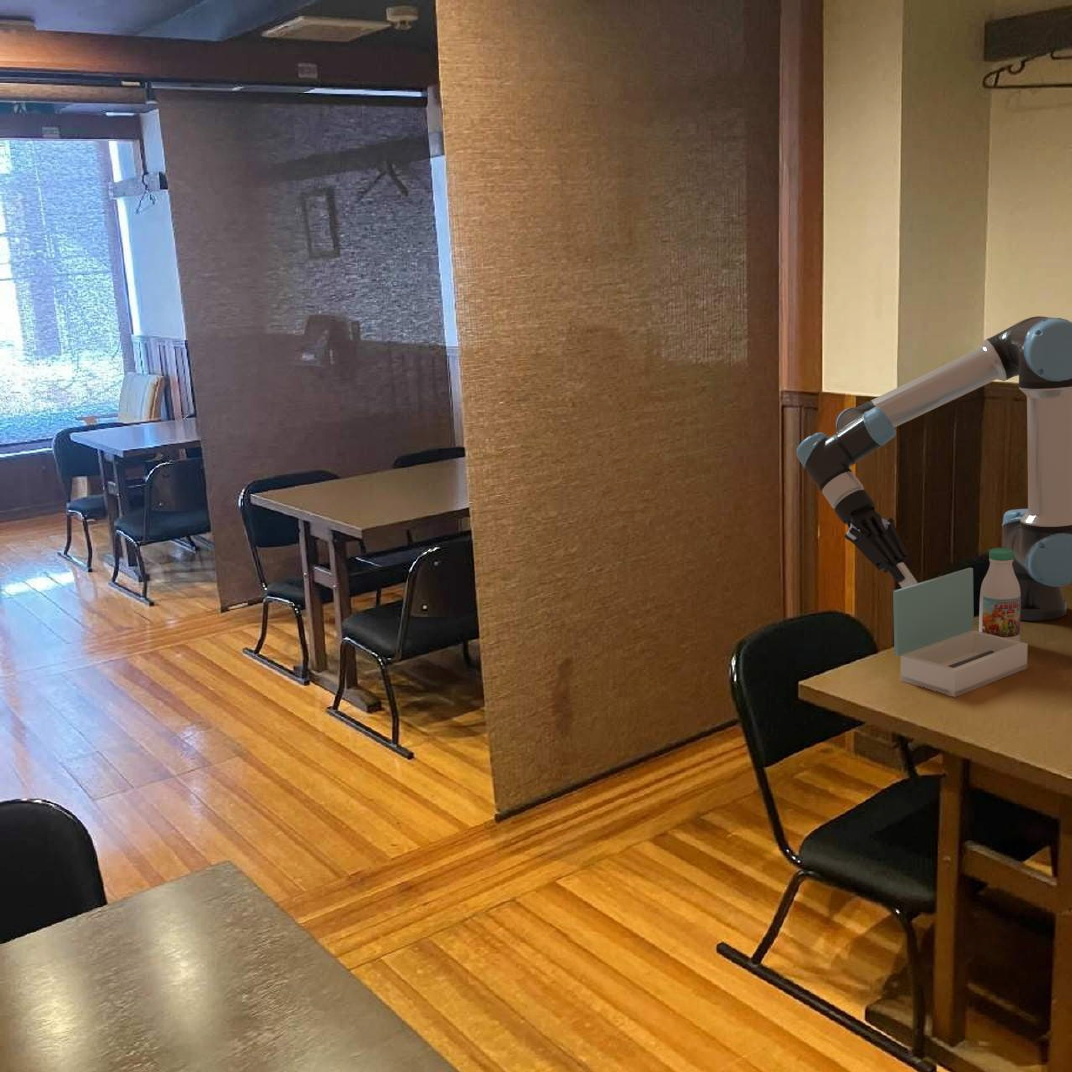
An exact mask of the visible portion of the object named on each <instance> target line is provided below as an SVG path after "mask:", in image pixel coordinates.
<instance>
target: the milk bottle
mask: <svg viewBox="0 0 1072 1072" xmlns="http://www.w3.org/2000/svg"><path fill="white" fill-rule="evenodd" d="M988 557H989V558H988V561H989V567H988V570H987V572H986V574H985V576H984V578H983V580H982V582H981V586H980V591H979V592H980V593H979V614H978V615H979V616H978V617H979V618H978V619H979V620H978V621H979V622H978V632H982V633H986V634H990V635H995V636H999V637H1003V638H1007V639H1011V640H1015V641H1019V642H1021V641H1020V640H1021V635H1020V634H1021V620H1020V608H1021V592H1020V586H1019V582H1018V580H1017V578H1016V576H1015V573H1014V570H1013V567H1012V562H1013V561H1014V560H1013V558H1014V552H1013V550H1011V549H1007V548H1002V547H995V548H994V547H993V548H991V549H989V551H988Z"/></svg>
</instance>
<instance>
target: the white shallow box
mask: <svg viewBox="0 0 1072 1072" xmlns="http://www.w3.org/2000/svg"><path fill="white" fill-rule="evenodd" d="M1026 669H1028V643H1026V642H1022V641H1015V640H1011V639H1007V638H1003V637H999V636H995V635H990V634H986V633H982V632H979V630H971V631H968V632H965V633H962V634H959V635H957V636H954V637H951V638H948V639H945V640H942V641H940V642H937V643H934V644H931V645H928V646H925V647H923V648H920V649H917V650H914V651H911V652H908V653H905V654H903V655H900V681H901V682H903V683H907V684H910V685H914V686H916V687H919V686H921V687H920V688H923V687H925V688H924V689H926V688H927V690H929V689H930V691H932V690H933V691H932V692H936V691H938V692H937V693H939V692H941V693H940V694H942V693H943V695H945V694H946V696H949V697H952V696H953V697H952V698H956V697H958V696H962V695H964V694H966V693H970V692H971V691H974V690H977V689H979V688H982V687H983V686H986V685H988V684H989V685H990V684H991V683H995V682H997V681H999V680H1001V679H1004V678H1006V677H1008V676H1012V675H1014V674H1016V673H1019V672H1021V671H1024V670H1026Z"/></svg>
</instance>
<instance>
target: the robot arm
mask: <svg viewBox="0 0 1072 1072" xmlns="http://www.w3.org/2000/svg"><path fill="white" fill-rule="evenodd" d="M1017 376H1018V389H1019V390H1020V391H1021V392H1022V393H1023V394H1025V396H1026V408H1027V409H1026V413H1027V415H1026V418H1027V421H1026V422H1027V423H1026V424H1027V425H1026V427H1027V430H1026V431H1027V435H1026V436H1027V508H1018V509H1010V510H1007V511H1006V512H1005V513H1004V514H1003V518H1002V520H1003V521H1002V524H1001V527H1002V543H1001V544H1002V545H1001V548H1007V549H1011V550H1013V552H1014V558H1013V560H1014V561H1013V562H1012V567H1013V570H1014V573H1015V576H1016V578H1017V580H1018V582H1019V586H1020V592H1021V608H1020V621H1029V622H1030V621H1031V622H1033V621H1038V622H1039V621H1051V620H1057V619H1060V618H1062V617H1065V615H1067V607H1068V606H1067V604H1068V603H1067V601H1066V599H1065V598H1064V593H1063V589H1062V587H1064V586H1068V585H1071V584H1072V321H1070V320H1067V319H1065V318H1062V317H1047V316H1042V315H1041V316H1039V315H1036V316H1031V317H1028V318H1025V319H1022V320H1021V321H1018V322H1017V323H1014V324H1013V325H1011V326H1010V327H1008V328H1006V329H1004V330H1002V331H999V332H998V333H996V334H994V335H993V336H991V337H989V338H987V339H985V340H983V341H982V345H980V347H979V348H977V349H975V350H972V351H970V352H969V353H967V354H964V355H962V356H960V357H958V358H956V359H954V360H952V361H950V362H948V363H945V364H944V365H942V366H939V367H937V368H935V369H933V370H931V371H929V372H927V373H925V374H922V375H921V376H919V377H917V378H915V379H913V380H910V381H908V382H907V383H905V384H903V385H900V386H898V387H896V388H894V389H892V390H890V391H888V392H886V393H883V394H881V395H880V396H877V397H876V398H875V397H874V399H872V400H870V401H868V402H865V403H863V404H861V405H859V406H857V407H856V406H853V407H848V408H846V409H844V410H842V411H841V412H840V413H839V415H838V416H837V418H836V421H835V428H836V433H834V434H832V435H829V436H828V435H827V434H826V433H824V432H822V431H821V432H815V433H813V434H812V435H809V436H808V437H806V438H805V439H803V440H802V441H801V442H800V444H798V446H797V448H796V457H797V460H799V462H800V463H801V465H802V467H803V468H804V470H805V471H806V473H807V474H808V476H810V479H811V480H812V481H813V483H814V485H816V487H817V488H818V490H819V491H820V492H821V494H822V495H823V496H824V497H825V499H826V500H827V502H828V504H829V505H830V506H831V508H832V509H834V513H835V514H836V515H837V517H838V518H839V520H840V521H841V523H842V524H843V525H847V528H848V531H847V532H846V533H845V534H844V538H845V539H846V540H848V541H849V542H850V543H852V544H853V545H854V546H855V547H856V548H857V549H858V550H859V551H860V552H861V553H862V554H863V555H864V557H865V558H867V559H868V561H870V562H871V564H872V565H873V566H875V568H876V569H877V570H878V571H882V572H883V573H884V574H888V573H889V574H890V575H891V576H892V578H893V579H894V581H895V582H896V583H897V584H898V585H900V587H901V588H905V587H908V586H911V585H914V584H918V583H919V582H918V581H917V579H916V578H915V577H914V574H913V572H912V571H911V569H910V568H909V566H908V565H907V564H906V561H907V560H908V558H909V557H910V555H909V552H908V551H907V549H906V547H905V545H904V542H903V541H902V538H901V536H900V534H899V532H898V531H897V528H896V524H895V520H894V518H892V517H889V518H888V519H885V518H882V515H881V514H880V513H879V512H877V511H876V509H875V505H876V504H875V501H874V500H873V499H872V496H871V495H870V493H868V491H867V490H866V489H864V485H863V484H862V483H861V481H860V480H859V479H858V477H857V476H856V474H855V473H854V472H853V471H852V469H851V467H852V466H853V465H855V464H857V463H858V462H859V461H862V459H864V458H865V457H867V456H869V455H871V454H872V453H874V452H875V451H876V450H879V448H881V447H883V446H886V444H887V443H888V442H889V441H891V440H892V439H894V438H895V437H896V434H897V430H896V427H898V426H901V425H903V424H905V423H907V422H909V421H911V420H913V419H915V418H918V417H920V416H922V415H924V414H926V413H929V412H931V411H932V410H935V409H937V408H939V407H941V406H943V405H946V404H947V403H950V402H952V401H954V400H956V399H959V398H960V397H962V396H965V395H966V394H969V393H971V392H973V391H975V390H977V389H979V388H981V387H984V386H986V385H988V384H990V383H991V382H994V381H997V380H998V381H1002V382H1006V381H1008V380H1010V379H1013V378H1014V377H1017Z"/></svg>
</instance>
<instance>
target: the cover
mask: <svg viewBox="0 0 1072 1072" xmlns="http://www.w3.org/2000/svg"><path fill="white" fill-rule="evenodd" d="M892 598H893V599H892V600H893V601H892V603H893V604H892V605H893V607H892V609H893V639H894V641H893V645H894V646H893V647H894V656H895V657H901V655H904V654H907V653H910V652H913V651H915V650H918V649H921V648H924V647H927V646H930V645H932V644H935V643H938V642H941V641H944V640H947V639H949V638H952V637H955V636H958V635H961V634H964V633H966V632H969V631H972V630H974V628H975V627H974V625H975V623H974V621H975V620H974V619H975V616H974V614H975V613H974V568H973V567H967V568H964V569H961V570H957V571H953V572H951V573H948V574H947V573H946V574H944V575H941V576H938V577H934V578H931V579H928V580H924V581H922V582H918V584H914V585H911V586H908V587H905V588H902V587H901V588H899V589H895V590H892ZM974 631H975V630H974Z"/></svg>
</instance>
